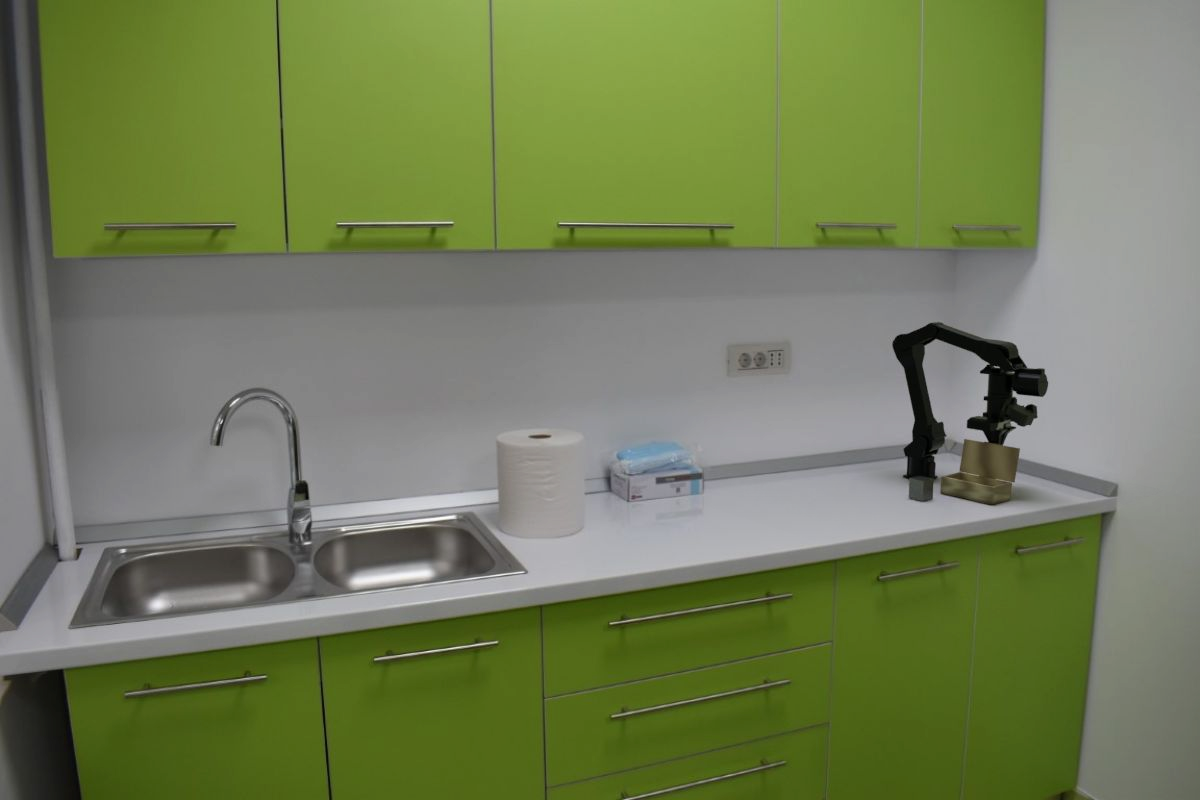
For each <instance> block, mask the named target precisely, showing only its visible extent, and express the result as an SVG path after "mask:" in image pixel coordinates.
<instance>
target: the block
mask: <svg viewBox="0 0 1200 800" xmlns="http://www.w3.org/2000/svg"><path fill="white" fill-rule="evenodd" d="M908 479H909V481H908V498H909V499H912V500H917V501H920V502H925V501H929V500H932V499H933V498H934V480H935V478H934V479H932V478H928V477H923V476H916V477H912V478H908Z"/></svg>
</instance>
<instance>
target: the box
mask: <svg viewBox="0 0 1200 800" xmlns="http://www.w3.org/2000/svg"><path fill="white" fill-rule="evenodd" d="M1012 485H1013V482H1008V481H1003V480H999V479H992V478H987V477H982V476H979V475H974V474H969V473H965V472H960V471H958V472H953V473H950V474H946V475H942V476H941V477H940V489H939V492H940V494H944V495H949V496H953V497H957V498H961V499H967V500H970V501H974V502H978V503H983V504H986V505H991V506H993V505H996V504H1000V503H1002V502H1003V503H1004V502H1007V501H1011V500H1012V489H1013V488H1012V487H1013V486H1012Z"/></svg>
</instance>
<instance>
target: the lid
mask: <svg viewBox="0 0 1200 800" xmlns="http://www.w3.org/2000/svg"><path fill="white" fill-rule="evenodd" d="M1020 451H1021V448H1019V447H1013V446H1008V445H1004V444H1003V445H1001V444H996V443H990V442H988V441H978V440H973V439H968V438H964V440H963V446H962V451H961V459H960V466H959V472H963V473H967V474H972V475H977V476H982V477H987V478H992V479H997V480H1001V481H1006V482H1011V483H1016V477H1017V471H1018V465H1019V457H1020V453H1021V452H1020Z"/></svg>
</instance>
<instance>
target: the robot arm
mask: <svg viewBox="0 0 1200 800" xmlns="http://www.w3.org/2000/svg"><path fill="white" fill-rule="evenodd" d="M935 340H938V341H939V342H944V343H946V344H948V345H951V346H954V347H956V348H958V349H963V350H965V351H967V352H970V353H973V354H975V355H976V356H977V357H979V359H981V360H982V361H984V362H985V363H988V364H986V365H985V367H984V368H983V369H980V371H979V374H982V375H983V374H984V375H988V379H987V380H988V381H987V395H985V396H983V401H985V402H986V411H985V412H984V411H983V412H982V415H976V416H971V417H969V418H968V419H967V420H966V429H969V430H975V431H981V432H983V434H984V436H985V438H986V440H987V442H990V443H996V444H1001V445H1003V446H1004V444H1005V441H1006V438H1007V437H1008V435H1009V433H1011V432H1012V431H1014V430H1016V429H1017V426H1019V427H1023V428H1025V427H1026V426H1031V425H1032V424H1033V422H1034V419H1035V420H1036V419H1038V418H1039V417H1038V406H1037V405H1035V404H1033V403H1030V404H1027V405H1026V406H1025V405H1020V404H1019V403H1018V399H1017V397H1015V396H1013V395H1014V394H1013V393H1014V392H1015V393H1016V395H1019V396H1020V395H1021V396H1027V397H1028V396H1030V397H1039V398H1044V396H1045V395H1046V393H1047V391H1048V388H1049V380H1048V377H1047V374H1046V373H1045V371H1046V369H1045V368H1041V367H1039V368H1033V367H1031V368H1030V367H1029V368H1028V366H1027V364H1026V363H1025V362H1024V360H1023V359H1022V357H1021V356H1020V353H1019V349H1018V346H1017V345H1016V344H1015V343H1013V342H1012V341H1011V342H1010V341H1005V340H999V339H991V338H984V337H980V336H977V335H975V334H972V333H969V332H967V331H965V330H960V329H958V328H956V327H953V326H949V325H946V324H944V323H943V322H941V321H936V322H935V321H934V322H928V324H926V325H924V326H923V327H920V328H917V329H915V330H913V331H910V332H908V333H900V334H898V335H896V336H895V338H894V339H893V340H892V344H891V345H892V347H891V348H892V350H893V352H894V355H895V358H896V359H897V361H898V362H899V364H900V365H901V366H902V368H903V370H904V375H905V380H906V385H907V389H908V394H909V400H910V404H911V408H912V413H913V419H914V421H913V422H914V423H913V425H912V426H913V427H912V431H911V433H912V435H911V436H912V437H911V438H912V441H911V442H910V443H909V444H907V445H906V446H905V447H904V448H903V454H904V456H905V457H907V458H906V459H907V461H906V462H907V465H906V474H903V475H902V477H903V478H907V479H909V478H912V477H916V476H923V477H928V478H932V479H934V480H935V479H937V478H938V475H936V466H937V463H936V461H935V458H936V457H935V455H937V454H938V452H939V450H940V449H941V448H942V447H943V446H944V444H945V442H946V439H945V438H946V437H947V436H948V435H947V434H946V432H945V425H944V424H945V423H944V421H940V422H938V421H937V419H936V418H935V417H934V414H933V413H934V412H933V409H932V404H931V399H930V395H929V390H928V384H927V381H926V376H925V370H924V366H923V364H924V359H925V355H926V350H925V349H926V348H925V346H927V345H929V344H931V343H933V342H934V341H935ZM1011 422H1013V423H1015V424H1016V425H1017V426H1015V425H1014V426H1013V425H1012V423H1011Z"/></svg>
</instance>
